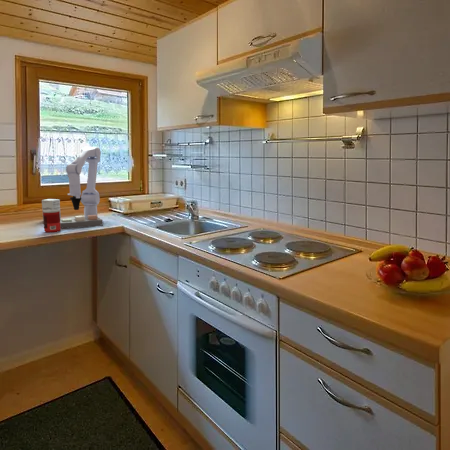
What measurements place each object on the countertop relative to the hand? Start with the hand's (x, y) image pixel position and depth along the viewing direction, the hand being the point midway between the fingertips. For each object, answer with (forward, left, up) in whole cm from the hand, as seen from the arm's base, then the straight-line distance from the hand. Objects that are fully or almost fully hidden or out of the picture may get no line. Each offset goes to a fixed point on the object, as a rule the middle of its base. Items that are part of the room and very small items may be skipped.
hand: (76, 209), depth 221 cm
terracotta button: (+1, +8, -7) cm, 11 cm away
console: (+1, +1, -9) cm, 9 cm away
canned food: (+12, -15, -9) cm, 21 cm away
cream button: (+1, +1, -7) cm, 7 cm away
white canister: (-24, -10, -9) cm, 27 cm away
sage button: (+1, -6, -8) cm, 10 cm away
